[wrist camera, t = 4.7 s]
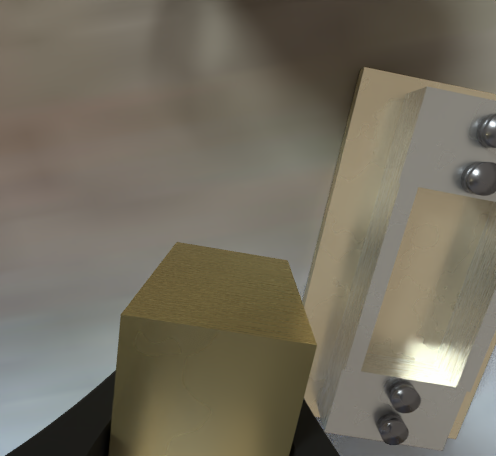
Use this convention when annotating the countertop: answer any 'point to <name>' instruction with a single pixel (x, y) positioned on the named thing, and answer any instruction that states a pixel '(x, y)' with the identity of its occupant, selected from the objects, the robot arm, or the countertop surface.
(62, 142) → the countertop surface
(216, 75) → the countertop surface
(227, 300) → the yellow block
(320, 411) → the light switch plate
